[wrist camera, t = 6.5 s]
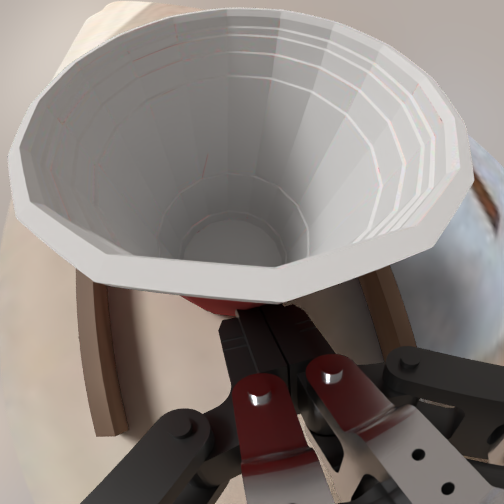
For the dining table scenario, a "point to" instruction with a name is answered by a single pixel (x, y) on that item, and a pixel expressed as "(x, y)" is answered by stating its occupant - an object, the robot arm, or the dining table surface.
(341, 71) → the plastic cup
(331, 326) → the dining table surface
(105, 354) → the T fence
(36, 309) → the dining table surface
